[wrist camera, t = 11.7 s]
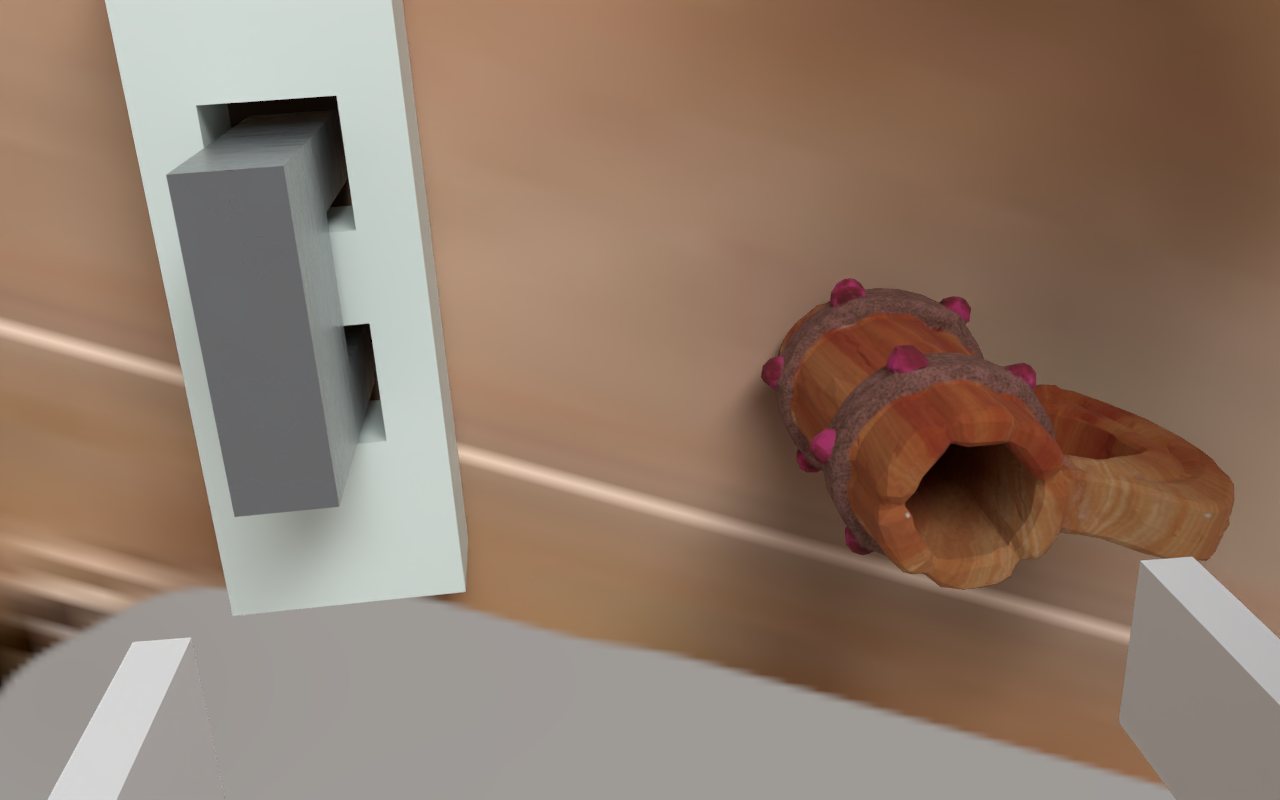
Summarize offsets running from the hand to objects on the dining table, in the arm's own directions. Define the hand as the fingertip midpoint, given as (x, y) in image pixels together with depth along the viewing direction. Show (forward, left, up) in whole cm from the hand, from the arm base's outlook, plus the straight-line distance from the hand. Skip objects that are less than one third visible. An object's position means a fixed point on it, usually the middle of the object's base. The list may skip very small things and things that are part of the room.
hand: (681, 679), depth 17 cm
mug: (+8, +14, -33) cm, 37 cm away
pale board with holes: (+1, -10, -33) cm, 34 cm away
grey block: (+1, -10, -33) cm, 34 cm away
